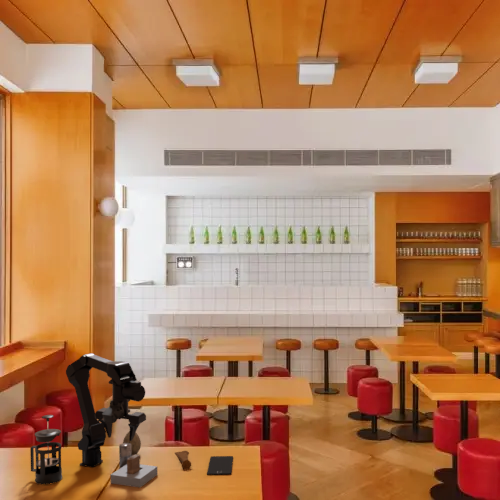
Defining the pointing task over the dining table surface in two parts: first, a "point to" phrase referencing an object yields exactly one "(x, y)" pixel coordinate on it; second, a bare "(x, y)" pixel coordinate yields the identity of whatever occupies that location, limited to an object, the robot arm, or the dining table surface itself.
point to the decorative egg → (133, 443)
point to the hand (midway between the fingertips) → (120, 439)
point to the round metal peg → (124, 453)
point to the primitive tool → (184, 459)
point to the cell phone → (220, 465)
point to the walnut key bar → (133, 464)
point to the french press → (48, 465)
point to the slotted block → (134, 476)
